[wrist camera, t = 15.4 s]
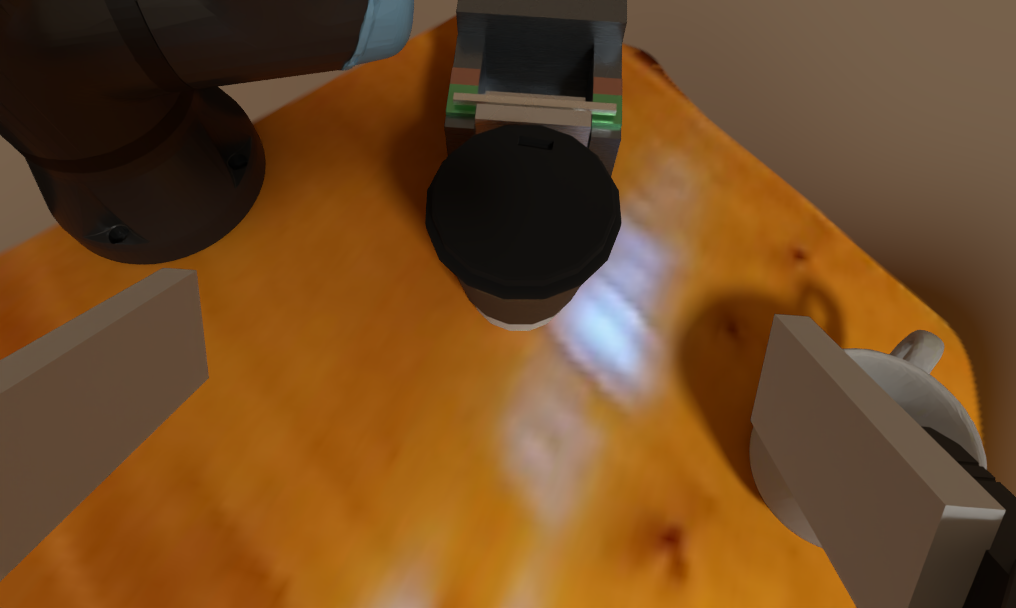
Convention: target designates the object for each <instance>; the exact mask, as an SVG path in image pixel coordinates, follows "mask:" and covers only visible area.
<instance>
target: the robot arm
mask: <svg viewBox="0 0 1016 608" xmlns="http://www.w3.org/2000/svg"><path fill="white" fill-rule="evenodd" d="M413 12H414V0H0V135H1V136H2V137H3V138H4V139H5V140H6V141H8V142H9V143H10V144H11V145H12V146H13V147H14V148H15V149H17V150H18V151H19V152H20V153H21V154H22V155H23V156H24V157H25V159H26V161H27V163H28V165H29V167H30V169H31V172H32V174H33V176H34V178H35V180H36V182H37V185H38V187H39V189H40V191H41V193H42V195H43V198H44V200H45V202H46V204H47V206H48V209H49V210H50V212H51V214H52V215H53V217H54V218H55V219H56V221H57V222H58V223H59V224H60V226H61V227H62V228H63V229H64V230H65V231H67V232H68V233H69V234H70V235H71V236H72V237H74V238H75V239H76V240H77V241H78V242H80V243H81V244H82V245H83V246H84V247H86V248H87V249H88V250H90V251H92V252H93V253H95V254H97V255H99V256H101V257H104V258H107V259H110V260H113V261H117V262H121V263H128V264H157V263H164V262H169V261H173V260H177V259H181V258H184V257H187V256H189V255H192V254H194V253H197V252H199V251H201V250H203V249H205V248H207V247H209V246H210V245H212V244H214V243H215V242H217V241H218V240H220V239H221V238H223V237H224V236H225V235H227V234H228V233H229V232H230V231H231V230H232V229H234V228H235V227H236V226H237V225H238V224H239V223H240V222H241V220H242V219H243V218H244V217H245V216H246V214H247V213H248V212H249V210H250V209H251V207H252V206H253V204H254V202H255V201H256V199H257V197H258V194H259V192H260V190H261V187H262V184H263V180H264V175H265V154H264V149H263V146H262V143H261V140H260V138H259V136H258V134H257V132H256V130H255V128H254V127H253V125H252V123H251V121H250V119H249V118H248V116H247V114H246V113H245V112H244V110H243V109H242V108H241V107H240V106H239V105H238V103H237V102H236V101H235V100H233V99H232V98H231V97H230V96H229V95H228V94H226V93H225V92H224V91H223V90H221V89H220V88H219V87H218V86H224V85H232V84H238V83H246V82H253V81H261V80H268V79H275V78H283V77H291V76H298V75H305V74H313V73H320V72H327V71H335V70H349V69H351V68H352V67H354V66H355V65H359V64H363V63H368V62H372V61H377V60H381V59H385V58H389V57H392V56H394V55H396V54H397V53H399V52H400V51H401V50H402V49H403V47H404V46H405V45H406V43H407V41H408V39H409V37H410V33H411V29H412V23H413ZM208 378H209V376H208V367H207V358H206V350H205V341H204V332H203V324H202V315H201V306H200V297H199V289H198V280H197V271H196V270H185V269H172V268H162V269H160V270H159V271H157V272H155V273H153V274H152V275H150V276H148V277H146V278H145V279H143V280H141V281H139V282H138V283H136V284H134V285H132V286H130V287H129V288H127V289H125V290H123V291H122V292H120V293H118V294H116V295H115V296H113V297H111V298H109V299H108V300H106V301H104V302H102V303H101V304H99V305H97V306H95V307H94V308H92V309H90V310H88V311H86V312H85V313H83V314H81V315H79V316H78V317H76V318H74V319H72V320H71V321H69V322H67V323H65V324H64V325H62V326H60V327H58V328H57V329H55V330H53V331H51V332H49V333H48V334H46V335H44V336H42V337H41V338H39V339H37V340H35V341H34V342H32V343H30V344H28V345H27V346H25V347H23V348H21V349H20V350H18V351H16V352H14V353H13V354H11V355H9V356H7V357H5V358H4V359H2V360H0V581H1V580H2V579H3V578H4V577H5V576H6V575H7V574H8V573H9V572H10V571H11V570H12V569H13V568H14V567H15V566H17V565H18V564H19V563H20V562H21V561H22V560H23V559H24V558H25V557H26V556H27V555H28V554H29V553H30V552H31V551H32V550H33V549H34V548H35V547H36V546H37V545H38V544H39V543H40V542H41V541H42V540H43V539H44V538H45V537H46V536H47V535H48V534H49V533H50V532H51V531H52V530H53V529H54V528H55V527H56V526H57V525H59V524H60V523H61V522H62V521H63V520H64V519H65V518H66V517H67V516H68V515H69V514H70V513H71V512H72V511H73V510H74V509H75V508H76V507H77V506H78V505H79V504H80V503H81V502H82V501H83V500H84V499H85V498H86V497H87V496H88V495H89V494H90V493H91V492H92V491H93V490H94V489H95V488H96V487H97V486H98V485H99V484H101V483H102V482H103V481H104V480H105V479H106V478H107V477H108V476H109V475H110V474H111V473H112V472H113V471H114V470H115V469H116V468H117V467H118V466H119V465H120V464H121V463H122V462H123V461H124V460H125V459H126V458H127V457H128V456H129V455H130V454H131V453H132V452H133V451H134V450H135V449H136V448H137V447H138V446H139V445H140V444H141V443H143V442H144V441H145V440H146V439H147V438H148V437H149V436H150V435H151V434H152V433H153V432H154V431H155V430H156V429H157V428H158V427H159V426H160V425H161V424H162V423H163V422H164V421H165V420H166V419H167V418H168V417H169V416H170V415H171V414H172V413H173V412H174V411H175V410H176V409H177V408H178V407H179V406H180V405H181V404H182V403H183V402H185V401H186V400H187V399H188V398H189V397H190V396H191V395H192V394H193V393H194V392H195V391H196V390H197V389H198V388H199V387H200V386H201V385H202V384H203V383H204V382H205V381H206V380H207V379H208ZM750 421H751V423H752V424H753V426H754V428H755V430H756V431H757V433H758V435H759V437H760V438H761V440H762V442H763V444H764V445H765V447H766V449H767V451H768V452H769V454H770V456H771V458H772V459H773V461H774V463H775V465H776V466H777V468H778V470H779V472H780V473H781V475H782V477H783V479H784V481H785V482H786V484H787V486H788V488H789V489H790V491H791V493H792V495H793V496H794V498H795V500H796V502H797V503H798V505H799V507H800V509H801V510H802V512H803V514H804V516H805V517H806V519H807V521H808V523H809V524H810V526H811V528H812V530H813V531H814V533H815V535H816V537H817V538H818V540H819V542H820V544H821V545H822V547H823V549H824V551H825V552H826V554H827V556H828V558H829V560H830V561H831V563H832V565H833V567H834V568H835V570H836V572H837V574H838V575H839V577H840V579H841V581H842V582H843V584H844V586H845V588H846V589H847V591H848V593H849V595H850V596H851V598H852V600H853V602H854V603H855V605H856V607H857V608H1016V497H1015V496H1014V495H1013V494H1012V493H1011V492H1010V491H1009V490H1008V489H1006V488H1005V487H1004V486H1003V485H1002V484H1001V483H1000V482H996V481H995V477H993V475H991V473H989V472H988V471H987V470H986V469H985V468H984V467H983V466H979V462H978V461H977V460H976V459H974V458H973V457H972V456H971V455H970V454H969V453H968V452H967V451H966V450H965V449H964V448H963V447H962V446H961V445H959V444H958V443H956V442H955V441H953V440H951V439H950V438H948V437H946V436H945V435H943V434H941V433H939V432H938V431H936V430H934V429H933V428H931V427H923V426H920V425H919V424H918V423H917V422H916V421H915V420H914V419H913V418H912V417H911V416H910V415H909V414H908V413H907V412H906V411H905V410H904V409H903V408H902V407H900V406H899V405H898V404H897V403H896V402H895V401H894V400H893V399H892V398H891V397H890V396H889V395H888V394H887V393H886V392H885V391H884V390H883V389H882V388H881V387H880V386H879V385H878V384H877V383H876V382H875V381H874V380H873V379H872V378H871V377H870V376H869V375H868V374H867V373H866V372H865V371H864V370H863V369H862V368H861V367H860V366H859V365H858V364H857V363H856V362H855V361H854V360H853V359H852V358H851V357H850V356H849V355H848V354H847V353H846V352H845V351H844V350H842V349H841V348H840V347H839V346H838V345H837V344H836V343H835V342H834V341H833V340H832V339H831V338H830V337H829V336H828V335H827V334H826V333H825V332H824V331H823V330H822V329H821V328H820V327H819V326H818V325H817V324H816V323H815V322H814V321H813V320H812V319H811V318H810V317H808V316H794V315H781V314H774V319H773V323H772V328H771V332H770V337H769V341H768V345H767V350H766V354H765V359H764V363H763V367H762V372H761V376H760V381H759V385H758V389H757V394H756V398H755V403H754V407H753V411H752V416H751V420H750Z"/></svg>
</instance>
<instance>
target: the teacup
mask: <svg viewBox="0 0 1016 608" xmlns="http://www.w3.org/2000/svg"><path fill="white" fill-rule="evenodd" d="M842 350H844V351H845V352H846V353H847V354H848V355H849V356H850V357H851V358H852V359H853V360H854V361H855V362H856V363H857V364H858V365H859V366H860V367H861V368H862V369H863V370H864V371H865V372H866V373H867V374H868V375H869V376H870V377H871V378H872V379H873V380H874V381H875V382H876V383H877V384H878V385H879V386H880V387H881V388H882V389H883V390H884V391H885V392H886V393H887V394H888V395H889V396H890V397H891V398H892V399H893V400H894V401H895V402H896V403H897V404H898V405H899V406H900V407H902V408H903V409H904V410H905V411H906V412H907V413H908V414H909V415H910V416H911V417H912V418H913V419H914V420H915V421H916V422H917V423H918V424H919V425H920V426H923V427H931V428H933V429H934V430H936V431H938V432H939V433H941V434H943V435H945V436H946V437H948V438H950V439H951V440H953V441H955V442H956V443H958V444H959V445H961V446H962V447H963V448H964V449H965V450H966V451H967V452H968V453H969V454H970V455H971V456H972V457H973V458H974V459H976V460H977V461H978V462H979V466H983V467H984V468H985V469H986V470H987V462H986V456H985V452H984V448H983V445H982V441H981V438H980V436H979V433H978V431H977V429H976V427H975V425H974V422H973V421H972V420H971V418H970V416H969V415H968V413H967V411H966V410H965V409H964V407H963V406H962V405H961V403H960V402H959V401H958V400H957V399H956V398H955V397H954V396H953V395H952V394H951V393H950V392H949V391H948V390H947V389H946V388H945V387H944V386H943V385H942V384H941V383H939V382H938V381H937V380H936V379H935V378H934V377H932V376H931V375H930V372H931V371H932V369H933V368H934V367H935V365H936V364H937V363H938V361H939V359H940V358H941V356H942V354H943V351H944V343H943V342H942V340H941V339H940V338H939V337H937V336H936V335H934V334H932V333H931V332H928V331H924V330H917V331H914V332H912V333H911V334H909V335H908V336H907V337H906V338H905V339H903V340H902V341H901V342H900V343H899V344H898V345H897V346H896V347H895V348H894V350H893V351H892V352H891V353H890V354H885V353H882V352H878V351H874V350H870V349H857V348H853V349H842ZM749 454H750V464H751V470H752V474H753V478H754V480H755V483H756V486H757V488H758V490H759V492H760V494H761V496H762V498H763V500H764V502H765V503H766V505H767V506H768V507H769V509H770V510H771V511H772V513H773V514H774V515H775V516H776V517H777V518H778V519H779V520H780V521H781V522H782V523H783V524H784V525H785V526H786V527H787V528H788V529H790V530H791V531H792V532H794V533H795V534H796V535H798V536H799V537H801V538H802V539H804V540H806V541H808V542H810V543H812V544H814V545H816V546H818V547H821V548H823V547H822V545H821V544H820V542H819V540H818V538H817V537H816V535H815V533H814V531H813V530H812V528H811V526H810V524H809V523H808V521H807V519H806V517H805V516H804V514H803V512H802V510H801V509H800V507H799V505H798V503H797V502H796V500H795V498H794V496H793V495H792V493H791V491H790V489H789V488H788V486H787V484H786V482H785V481H784V479H783V477H782V475H781V473H780V472H779V470H778V468H777V466H776V465H775V463H774V461H773V459H772V458H771V456H770V454H769V452H768V451H767V449H766V447H765V445H764V444H763V442H762V440H761V438H760V437H759V435H758V433H757V431H756V430H755V428H754V427H753V430H752V433H751V438H750V449H749Z"/></svg>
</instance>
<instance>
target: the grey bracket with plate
mask: <svg viewBox="0 0 1016 608" xmlns="http://www.w3.org/2000/svg"><path fill="white" fill-rule="evenodd" d="M453 105H468V106H477V108H476V116H475V126H476V134H479V133H482V132H485V131H488V130H491V129H495V128H498V127H501V126H504V125H541V126H544V127H547V128H550V129H553V130H556V131H559V132H562V133H565V134H568V135H571V136H573V137H574V138H576V139H577V140H578V141H580V142H581V143H582V144H583V145H585V146H586V147H587V144H588V139H589V134H590V129H591V114H597V115H612V116H615V115H616V104H614V103H599V102H585V98H583V97H569V96H554V95H540V94H525V93H510V92H496V91H486V93H485V95H483V94H469V93H454V96H453Z"/></svg>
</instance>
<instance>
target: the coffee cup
mask: <svg viewBox="0 0 1016 608" xmlns="http://www.w3.org/2000/svg"><path fill="white" fill-rule="evenodd" d="M425 224H426V229H427V231H428V234H429V236H430V238H431V241H432V243H433V246H434V248H435V250H436V253H437V255H438V257H439V260H440V261H441V262H442V263H443V264H444V265H445V266H446V267H448V268H449V269H450V270H451V271H452V272H453V273H454V274H455V275H456V276H457V277H458V279H459V281H460V283H461V285H462V287H463V289H464V291H465V293H466V295H467V296H468V298H469V300H470V301H471V302H472V303H473V304H474V305H475V306H476V308H477V310H478V312H480V313H481V314H482V315H483V316H484V317H485V318H486V319H487V320H488V321H489V322H490V323H491V324H494V325H496V326H499V327H501V328H504V329H507V330H509V331H530V330H532V329H535V328H537V327H540V326H542V325H545V324H547V323H548V322H549V321H550V320H551V319H553V318H554V317H555V316H556V315H557V314H558V313H559V312H560V311H561V309H562V308H563V307H564V306H565V305H567V304H568V303H569V302H570V301H571V299H572V298H573V296H574V295H575V293H576V292H577V290H578V289H579V287H580V286H581V285H582V284H583V283H584V282H585V281H586V280H587V279H588V278H589V277H591V276H592V275H593V274H594V273H595V272H596V271H597V270H598V269H599V268H600V267H601V266H602V265H603V264H604V263H605V262H606V261H607V260H608V258H609V255H610V253H611V250H612V248H613V245H614V243H615V240H616V237H617V235H618V232H619V230H620V227H621V212H620V201H619V190H618V189H617V187H616V185H615V183H614V182H613V180H612V178H611V176H610V175H609V173H608V171H607V170H606V168H605V166H604V164H603V163H602V161H601V160H600V158H599V157H598V156H597V155H596V154H595V153H594V152H592V151H591V150H590V149H588V148H587V147H586V146H585V145H583V144H582V143H581V142H580V141H578V140H577V139H576V138H574V137H573V136H571V135H568V134H565V133H562V132H559V131H556V130H553V129H550V128H547V127H544V126H541V125H504V126H501V127H498V128H495V129H491V130H488V131H485V132H482V133H479V134H476V135H473V136H472V137H471V138H470V139H468V140H467V141H466V142H465V143H463V144H462V145H461V146H459V147H458V148H457V149H456V150H454V151H453V152H452V153H451V154H449V155H448V156H447V158H446V159H445V160H444V161H443V162H442V164H441V166H440V168H439V170H438V171H437V173H436V175H435V177H434V179H433V181H432V182H431V184H430V186H429V188H428V190H427V203H426V221H425Z"/></svg>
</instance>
